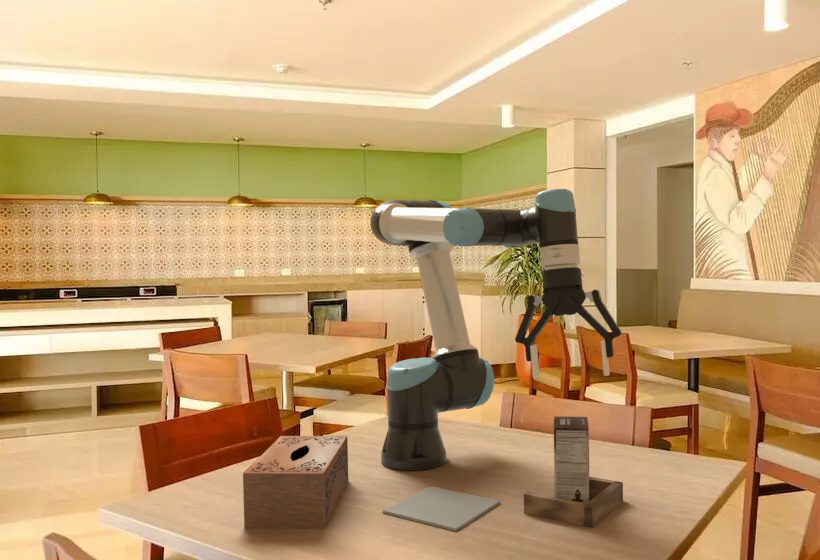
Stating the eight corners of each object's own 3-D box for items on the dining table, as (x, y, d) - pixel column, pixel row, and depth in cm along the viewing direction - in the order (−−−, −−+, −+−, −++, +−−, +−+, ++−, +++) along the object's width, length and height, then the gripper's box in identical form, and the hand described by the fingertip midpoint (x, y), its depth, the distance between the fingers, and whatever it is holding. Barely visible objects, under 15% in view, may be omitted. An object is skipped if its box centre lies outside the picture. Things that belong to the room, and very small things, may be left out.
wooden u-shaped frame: (524, 512, 126) (523, 494, 126) (559, 488, 139) (558, 471, 139) (592, 527, 118) (592, 507, 118) (622, 500, 131) (622, 482, 131)
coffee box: (554, 496, 134) (553, 415, 134) (588, 498, 133) (587, 416, 132) (554, 514, 125) (553, 426, 125) (591, 516, 124) (589, 427, 123)
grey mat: (382, 512, 127) (382, 510, 127) (430, 488, 140) (430, 486, 140) (456, 531, 118) (456, 528, 118) (500, 503, 131) (500, 500, 131)
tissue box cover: (324, 529, 120) (323, 473, 120) (244, 529, 121) (242, 473, 121) (348, 482, 146) (347, 435, 146) (281, 482, 147) (280, 436, 147)
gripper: (494, 273, 136) (503, 381, 135) (624, 260, 127) (636, 375, 125) (504, 275, 143) (513, 377, 142) (628, 262, 134) (639, 371, 132)
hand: (570, 376), depth 133 cm, fingers open, 13 cm apart
